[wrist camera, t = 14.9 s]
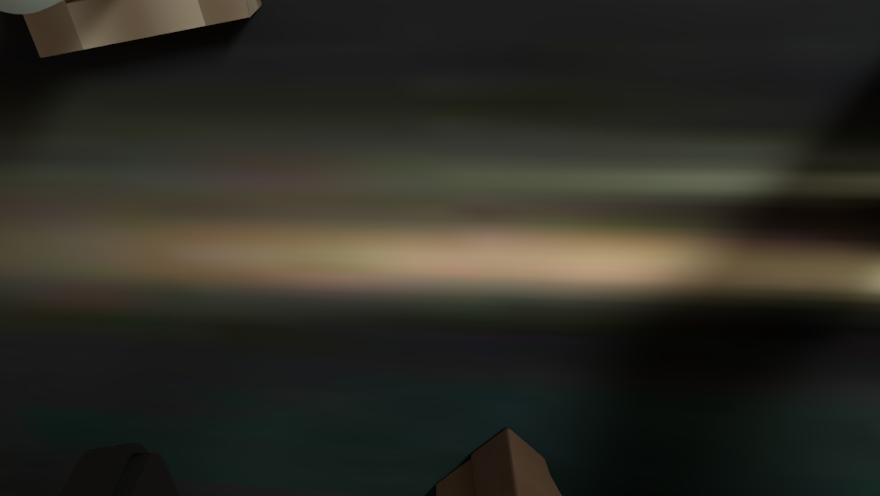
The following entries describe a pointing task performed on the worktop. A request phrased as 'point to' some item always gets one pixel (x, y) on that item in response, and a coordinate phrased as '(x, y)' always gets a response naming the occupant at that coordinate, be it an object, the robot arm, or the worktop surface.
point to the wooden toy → (501, 471)
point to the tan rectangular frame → (124, 21)
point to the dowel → (25, 5)
